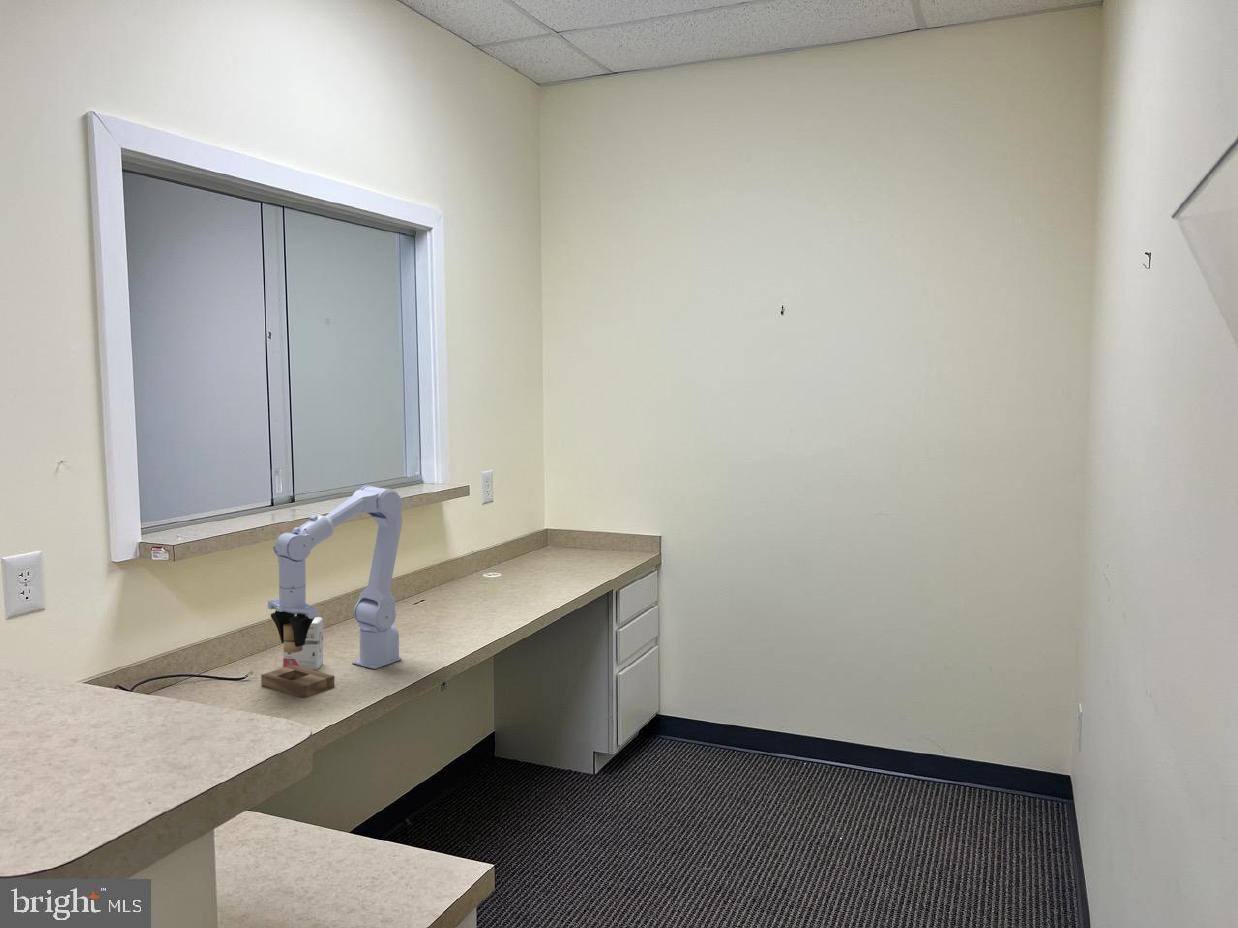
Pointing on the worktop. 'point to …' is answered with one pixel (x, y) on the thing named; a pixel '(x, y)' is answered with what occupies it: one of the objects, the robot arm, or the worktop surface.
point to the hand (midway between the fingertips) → (292, 643)
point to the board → (297, 680)
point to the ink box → (308, 648)
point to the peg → (289, 639)
